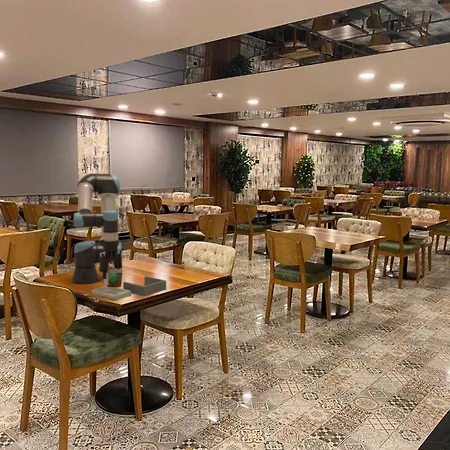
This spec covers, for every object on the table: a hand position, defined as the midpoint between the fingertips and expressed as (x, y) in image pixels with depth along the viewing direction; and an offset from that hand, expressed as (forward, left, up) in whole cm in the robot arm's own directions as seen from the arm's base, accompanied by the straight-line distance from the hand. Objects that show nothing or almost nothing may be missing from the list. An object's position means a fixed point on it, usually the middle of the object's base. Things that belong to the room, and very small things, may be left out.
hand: (111, 283), depth 231 cm
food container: (0, 0, -2) cm, 2 cm away
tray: (0, 0, -6) cm, 6 cm away
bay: (+7, +18, -6) cm, 20 cm away
